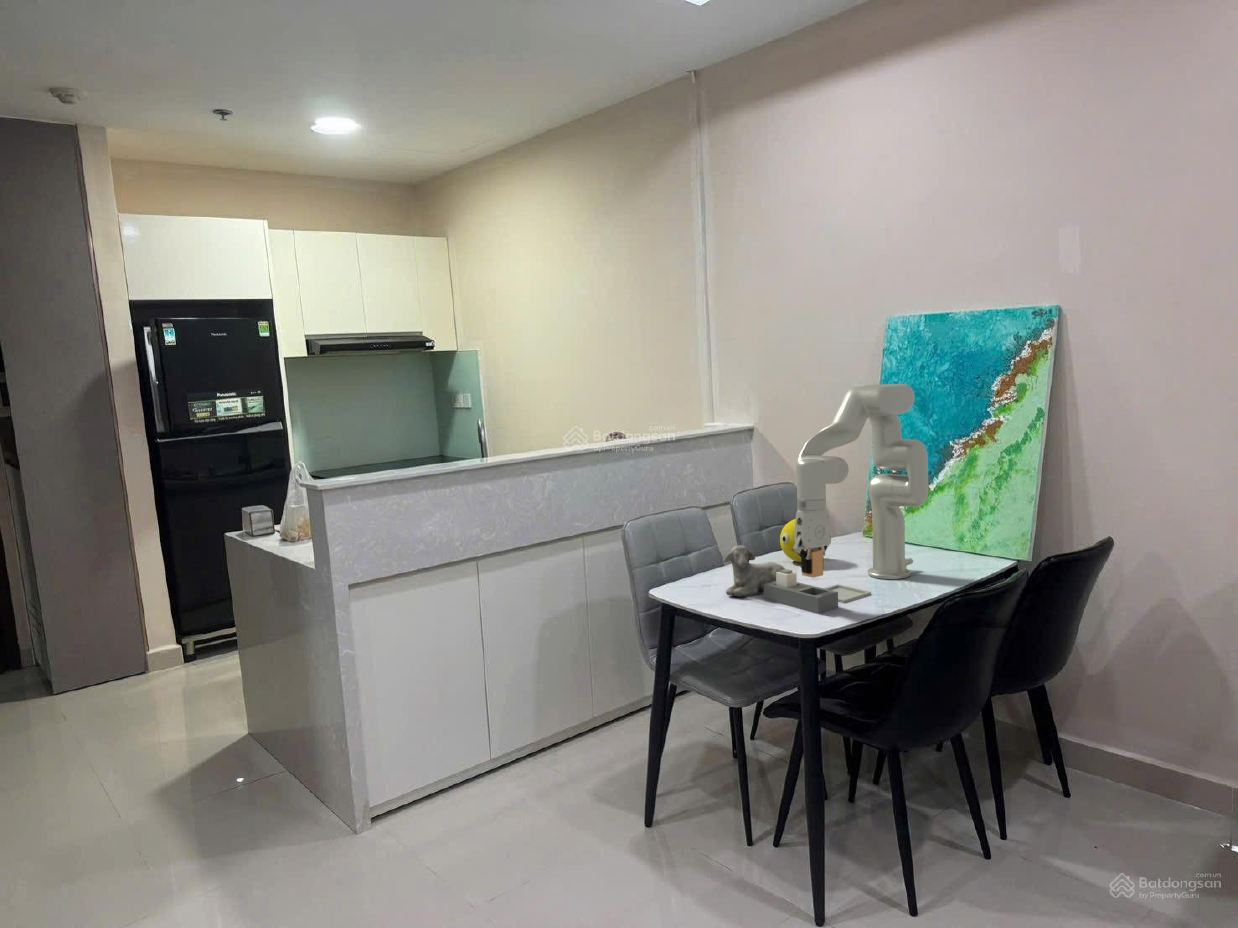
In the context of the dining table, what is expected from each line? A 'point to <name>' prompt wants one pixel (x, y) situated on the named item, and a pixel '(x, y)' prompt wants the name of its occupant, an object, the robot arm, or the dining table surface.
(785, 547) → the toy
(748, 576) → the sculpture
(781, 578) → the pdu
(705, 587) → the dining table surface
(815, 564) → the plug
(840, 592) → the tray
